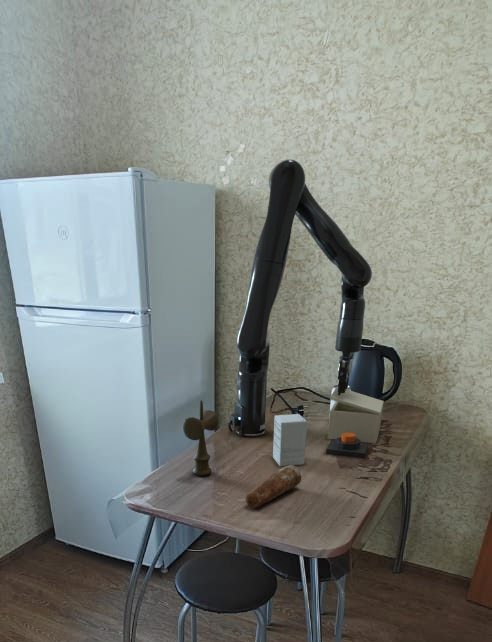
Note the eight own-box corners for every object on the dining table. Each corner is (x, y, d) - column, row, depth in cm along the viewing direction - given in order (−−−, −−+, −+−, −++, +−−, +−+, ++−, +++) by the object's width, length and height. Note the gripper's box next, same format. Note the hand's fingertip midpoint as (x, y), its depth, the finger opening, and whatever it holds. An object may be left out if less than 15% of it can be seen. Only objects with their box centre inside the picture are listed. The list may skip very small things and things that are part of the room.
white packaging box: (296, 456, 167) (299, 413, 161) (304, 465, 160) (308, 420, 154) (272, 457, 166) (274, 414, 160) (278, 466, 159) (281, 422, 153)
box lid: (329, 399, 175) (334, 383, 173) (336, 388, 187) (341, 373, 184) (379, 414, 172) (385, 399, 170) (382, 403, 184) (388, 388, 181)
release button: (340, 442, 167) (340, 435, 167) (342, 438, 171) (342, 431, 170) (354, 444, 166) (355, 437, 165) (355, 440, 170) (356, 433, 169)
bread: (302, 487, 146) (304, 467, 143) (258, 512, 133) (259, 490, 130) (281, 481, 150) (282, 461, 147) (236, 505, 137) (237, 483, 134)
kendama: (183, 477, 153) (181, 403, 143) (201, 466, 160) (200, 394, 151) (202, 481, 150) (202, 406, 141) (220, 469, 157) (220, 397, 148)
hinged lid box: (327, 438, 181) (330, 410, 177) (333, 426, 192) (336, 400, 188) (375, 443, 176) (379, 415, 172) (379, 430, 188) (383, 403, 184)
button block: (325, 454, 168) (326, 443, 166) (330, 444, 175) (331, 433, 174) (364, 458, 165) (365, 446, 163) (367, 448, 172) (368, 437, 171)
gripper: (359, 338, 165) (352, 397, 172) (364, 331, 177) (357, 386, 184) (333, 336, 167) (326, 394, 175) (340, 330, 179) (333, 384, 187)
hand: (342, 390), depth 179 cm, fingers closed on box lid, 5 cm apart
